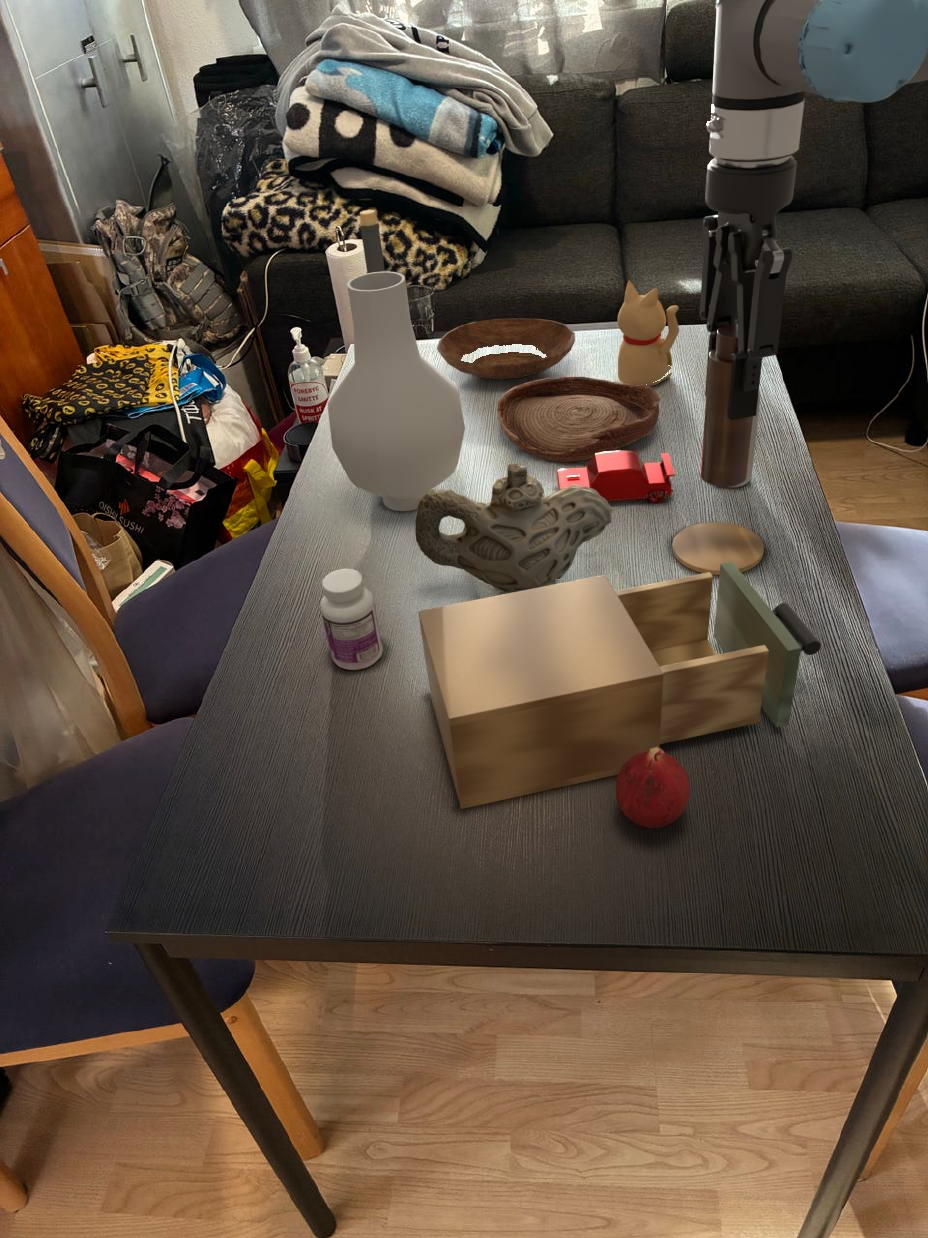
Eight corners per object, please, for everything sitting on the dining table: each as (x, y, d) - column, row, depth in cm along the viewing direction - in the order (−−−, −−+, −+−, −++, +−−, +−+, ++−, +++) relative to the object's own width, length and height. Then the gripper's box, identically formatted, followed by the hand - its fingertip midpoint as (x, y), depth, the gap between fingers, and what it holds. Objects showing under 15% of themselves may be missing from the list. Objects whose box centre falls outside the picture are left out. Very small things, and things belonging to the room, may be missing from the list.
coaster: (779, 565, 103) (780, 560, 103) (693, 582, 102) (693, 577, 102) (739, 519, 111) (740, 515, 111) (659, 535, 110) (659, 530, 110)
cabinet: (605, 661, 93) (605, 574, 87) (658, 765, 82) (663, 673, 75) (431, 697, 91) (418, 610, 85) (461, 809, 80) (448, 718, 73)
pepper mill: (754, 482, 99) (771, 334, 89) (711, 490, 99) (723, 343, 89) (734, 461, 103) (748, 318, 93) (693, 469, 102) (702, 325, 93)
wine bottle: (429, 412, 142) (404, 201, 124) (419, 436, 136) (390, 218, 117) (377, 412, 143) (345, 204, 125) (365, 437, 137) (329, 222, 119)
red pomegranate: (676, 857, 74) (681, 788, 69) (606, 836, 76) (606, 768, 71) (694, 803, 78) (701, 735, 73) (627, 785, 80) (629, 717, 75)
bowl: (455, 346, 162) (452, 317, 159) (583, 345, 157) (582, 316, 154) (427, 394, 147) (423, 364, 144) (567, 396, 142) (566, 364, 139)
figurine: (691, 377, 143) (697, 278, 134) (648, 399, 139) (652, 297, 130) (648, 363, 149) (651, 267, 140) (605, 384, 144) (606, 285, 135)
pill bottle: (336, 640, 100) (319, 565, 94) (385, 637, 99) (372, 562, 93) (328, 673, 95) (310, 597, 90) (380, 671, 95) (365, 594, 89)
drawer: (765, 625, 94) (775, 552, 88) (834, 715, 83) (850, 637, 78) (564, 667, 92) (562, 594, 86) (609, 764, 81) (609, 688, 76)
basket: (480, 459, 129) (477, 425, 126) (519, 396, 143) (518, 365, 140) (645, 471, 122) (646, 437, 119) (669, 404, 137) (670, 372, 134)
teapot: (598, 540, 110) (597, 423, 101) (626, 597, 101) (629, 473, 92) (418, 570, 109) (401, 453, 100) (430, 630, 100) (413, 507, 90)
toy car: (667, 481, 120) (669, 446, 117) (674, 503, 115) (676, 467, 112) (557, 488, 121) (556, 454, 118) (559, 511, 116) (558, 475, 113)
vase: (473, 463, 128) (453, 252, 111) (469, 528, 115) (446, 300, 98) (352, 471, 129) (314, 263, 112) (335, 536, 116) (289, 312, 99)
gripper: (672, 143, 88) (662, 377, 102) (757, 185, 74) (732, 450, 88) (747, 132, 89) (727, 366, 103) (846, 172, 75) (807, 436, 89)
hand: (729, 404), depth 96 cm, fingers closed on pepper mill, 5 cm apart
